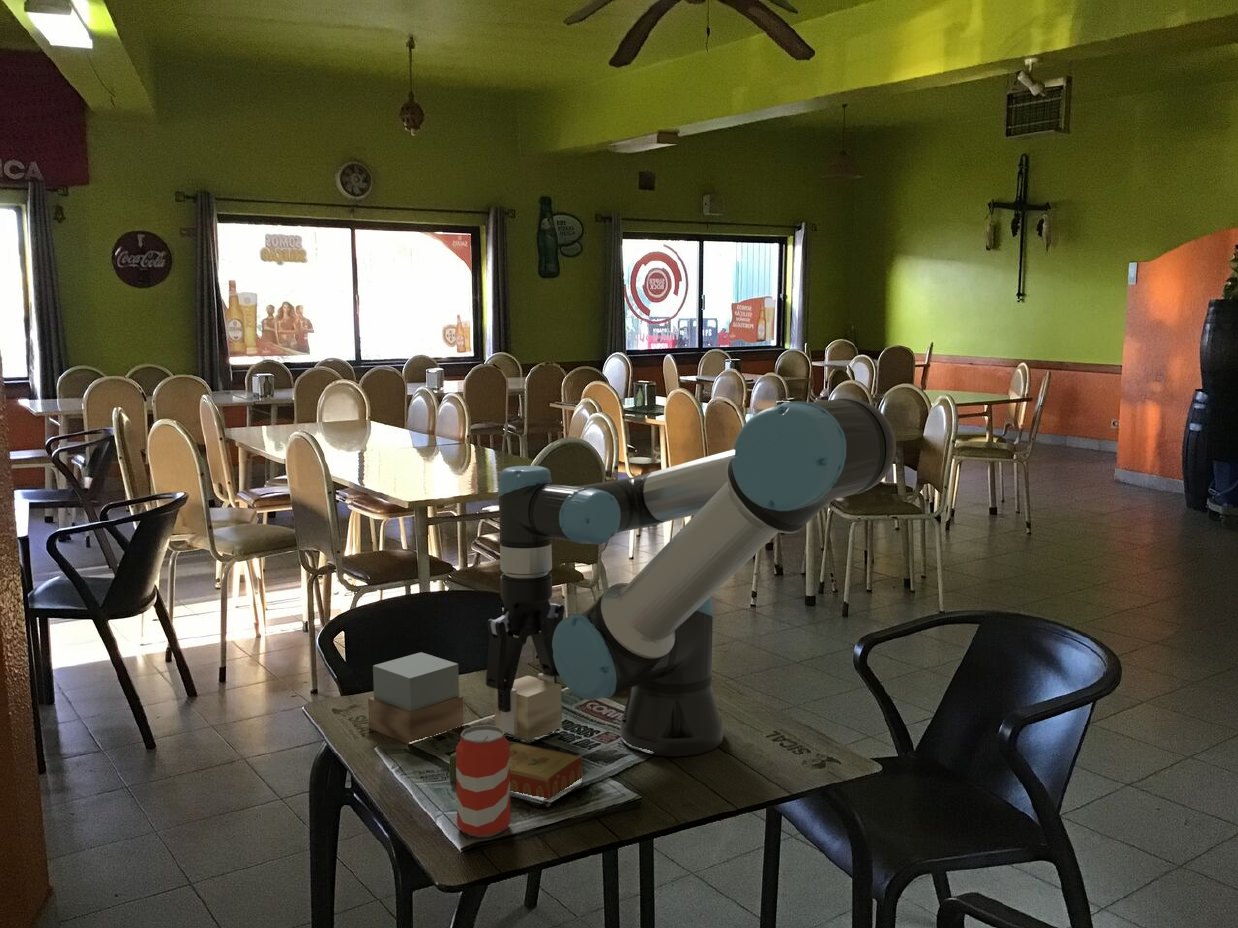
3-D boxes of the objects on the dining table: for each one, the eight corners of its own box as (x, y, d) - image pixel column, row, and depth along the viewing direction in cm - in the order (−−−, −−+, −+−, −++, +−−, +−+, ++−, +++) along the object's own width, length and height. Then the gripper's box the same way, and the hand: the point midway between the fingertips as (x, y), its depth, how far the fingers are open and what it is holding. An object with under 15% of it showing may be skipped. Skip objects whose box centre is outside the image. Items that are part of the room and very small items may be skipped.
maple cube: (561, 730, 162) (561, 684, 161) (528, 743, 157) (527, 696, 156) (528, 719, 167) (528, 675, 166) (494, 732, 162) (494, 686, 161)
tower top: (459, 695, 165) (458, 663, 164) (410, 711, 158) (409, 678, 158) (421, 683, 171) (421, 652, 170) (373, 697, 164) (372, 665, 164)
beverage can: (452, 839, 129) (450, 741, 127) (466, 815, 135) (465, 722, 134) (502, 842, 128) (501, 744, 127) (514, 818, 134) (513, 724, 133)
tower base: (463, 727, 166) (462, 696, 165) (410, 746, 158) (409, 713, 157) (421, 712, 172) (421, 681, 171) (369, 730, 165) (368, 698, 164)
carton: (548, 809, 138) (547, 777, 137) (448, 783, 146) (447, 753, 145) (583, 785, 145) (582, 754, 144) (485, 761, 153) (485, 732, 152)
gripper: (555, 558, 169) (556, 701, 172) (456, 580, 154) (460, 737, 157) (591, 564, 164) (592, 712, 167) (493, 588, 149) (496, 749, 152)
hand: (528, 723), depth 162 cm, fingers closed on maple cube, 7 cm apart
